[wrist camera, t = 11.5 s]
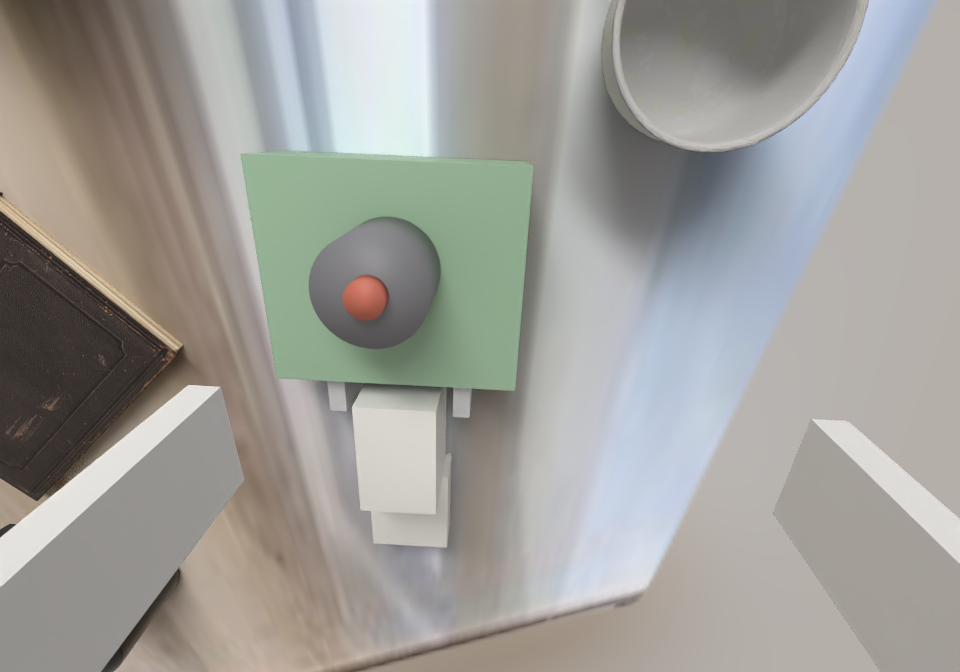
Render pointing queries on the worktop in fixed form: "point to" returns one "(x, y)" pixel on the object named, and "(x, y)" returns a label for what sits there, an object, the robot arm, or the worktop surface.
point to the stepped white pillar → (403, 463)
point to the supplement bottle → (141, 626)
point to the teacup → (723, 65)
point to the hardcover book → (63, 355)
